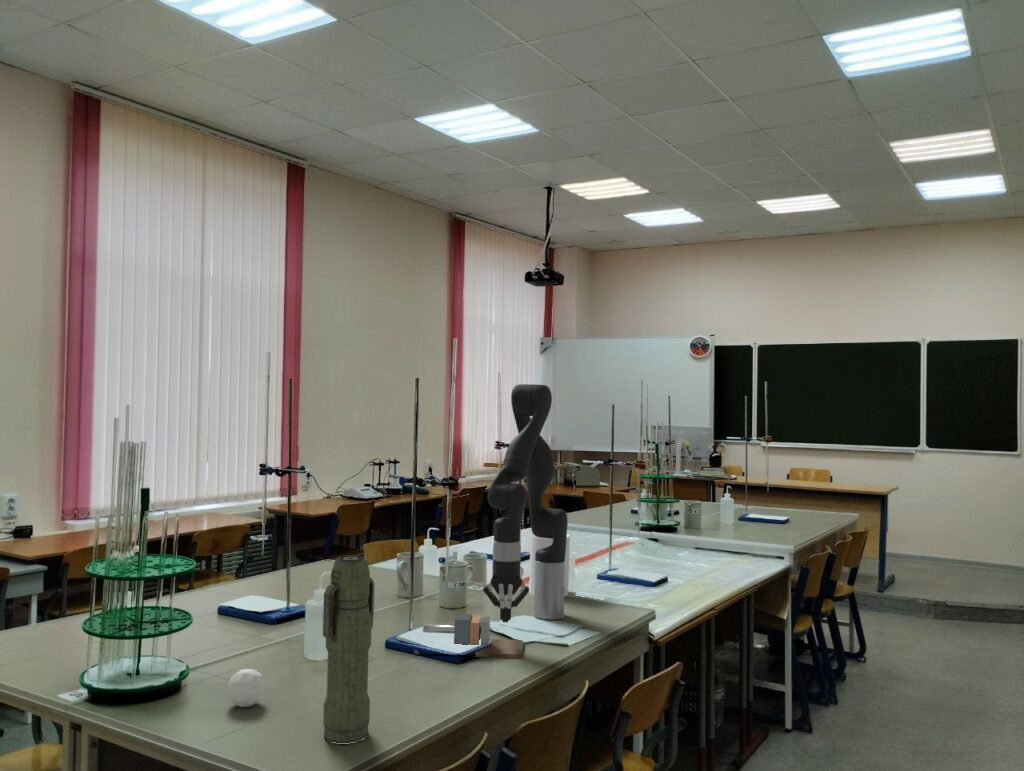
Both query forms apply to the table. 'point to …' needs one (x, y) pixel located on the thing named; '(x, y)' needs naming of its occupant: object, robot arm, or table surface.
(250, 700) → the geometric ball
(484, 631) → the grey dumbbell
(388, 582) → the table surface
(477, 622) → the block
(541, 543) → the canister
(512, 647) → the base plank
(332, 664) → the thermos
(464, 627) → the grey upright block
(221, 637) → the table surface
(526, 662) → the table surface
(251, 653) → the table surface
